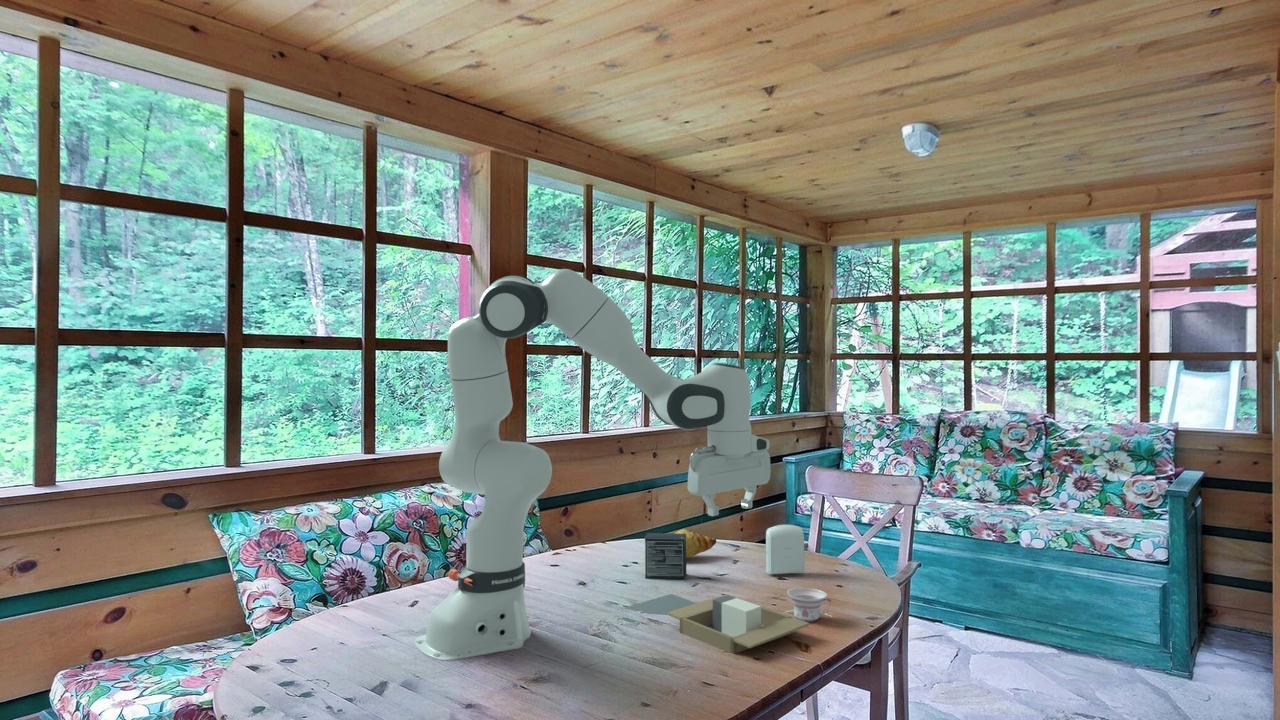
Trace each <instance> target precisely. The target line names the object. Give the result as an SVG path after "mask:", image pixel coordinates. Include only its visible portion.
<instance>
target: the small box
mask: <svg viewBox="0 0 1280 720" xmlns="http://www.w3.org/2000/svg"><path fill="white" fill-rule="evenodd" d="M644 546H645V547H644V549H645V550H644V552H645V553H644V556H645V558H644V560H645V564H644V565H645V566H644V567H645V574H644V578H645V580H649V579H650V580H652V579H654V580H655V579H656V580H658V579H659V580H686V579H687V557H686V534H674V533H670V532H669V533H664V532H663V533H658V532H656V533H654V532H647V533H646V535H645V537H644Z"/></svg>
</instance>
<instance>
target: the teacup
mask: <svg viewBox="0 0 1280 720" xmlns="http://www.w3.org/2000/svg"><path fill="white" fill-rule="evenodd" d="M786 594H787V595H788V597H789V598H790V600H791V603H792V604H793V609H791V610H786V611H784V612H782V613H781V614H786V613H789V612H790V613H791V612H793V617H794V618H796V619H799V620H802V621H805V622H808V623H811V622H812V623H813V622H815V621H816V620H818V619H819V618H820V617H821V616H823V615H826V616H828V615H829V616H828V617H831V618H832V617H833V616H832V615H830V614H828V613H827V612H828V610H829V608H830V607H831V602H832V599H830V598H827V597H828V594H827V593H826V592H825V591H823V590H820V589H816V588H811V587H794V588H793V587H792V588H789V589H787V590H786ZM825 602H827V603H828V604H827V606H826V608H825V609H824V611H821V606H822V604H824V603H825ZM820 615H821V616H820Z"/></svg>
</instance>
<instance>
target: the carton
mask: <svg viewBox="0 0 1280 720" xmlns="http://www.w3.org/2000/svg"><path fill="white" fill-rule="evenodd" d="M726 595H727V594H722V595H719V596H715V597H713V598H709V599H706V600H702V601H699V602H695V603H696V604H693V605H690V606H686V607H683V608H680V609H677V610H673V611H670V612H667V613H666V615H665V616H668V617H672V618H674V619H675V620H676V619H677V620H679V633H680V634H681V635H684V636H686V635H687V637H689V638H693V639H694V640H696V641H700V642H702V643H705V644H707V645H710V646H711V647H715V648H718V649H721V650H722V651H725V652H728V653H730V654H733V655H734V654H738V653H740V652H743V651H746V650H749V649H752V648H755V647H757V646H760V645H764V644H766V643H768V642H772V641H775V640H778V639H780V638H783V637H786V636H789V635H792V634H794V632H796V631H798V630H800V629H804V628H805V627H808V626H810V623H811V622H805V621H802V620H799V619H798V618H796V617H794V616H793V617H792V616H790V615H787V614H785V613H783V614H782V613H781V612H779V611H776V610H773V609H770V608H766V607H763V606H761V627H760V628H757V629H754V630H752V631H749V632H746V633H743V634H741V635H738V636H735V637H732V636H729V635H727V634H724V633H722V632H719V631H717V630H714V629H713V627H710V626H713V599H717V598H720V597H723V596H726ZM762 625H763V626H762Z"/></svg>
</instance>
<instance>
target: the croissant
mask: <svg viewBox="0 0 1280 720" xmlns="http://www.w3.org/2000/svg"><path fill="white" fill-rule="evenodd" d="M673 534H686V558H689V557H694V556H696V555H698V554H701V553H704V552H706V551H708V550H710V549H712V548H713V547H714V546H715V545H716V543H717V539H716V538H715V537H709V536H707V535H701V534H699V533H695V532H694V531H693V530H690V529H685V528H683V529H678V530H677V531H676V532H674V533H673Z"/></svg>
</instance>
